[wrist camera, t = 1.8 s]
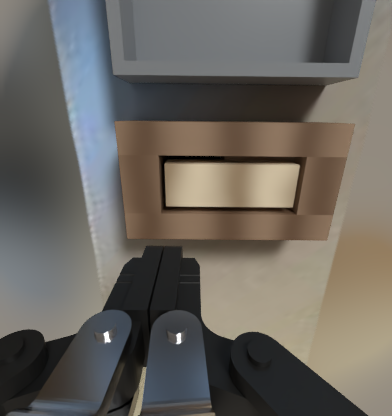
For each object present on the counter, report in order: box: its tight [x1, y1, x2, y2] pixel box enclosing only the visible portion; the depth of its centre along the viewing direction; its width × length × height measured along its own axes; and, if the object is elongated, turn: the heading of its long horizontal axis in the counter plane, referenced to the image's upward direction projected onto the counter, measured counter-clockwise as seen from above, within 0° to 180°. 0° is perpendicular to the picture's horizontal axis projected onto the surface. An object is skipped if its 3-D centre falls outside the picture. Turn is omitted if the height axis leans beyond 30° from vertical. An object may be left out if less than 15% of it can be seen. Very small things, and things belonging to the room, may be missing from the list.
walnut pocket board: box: [115, 120, 355, 240], centre depth 24 cm, size 20×11×6 cm, turn 89°
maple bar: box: [165, 159, 300, 208], centre depth 23 cm, size 12×4×2 cm, turn 89°
